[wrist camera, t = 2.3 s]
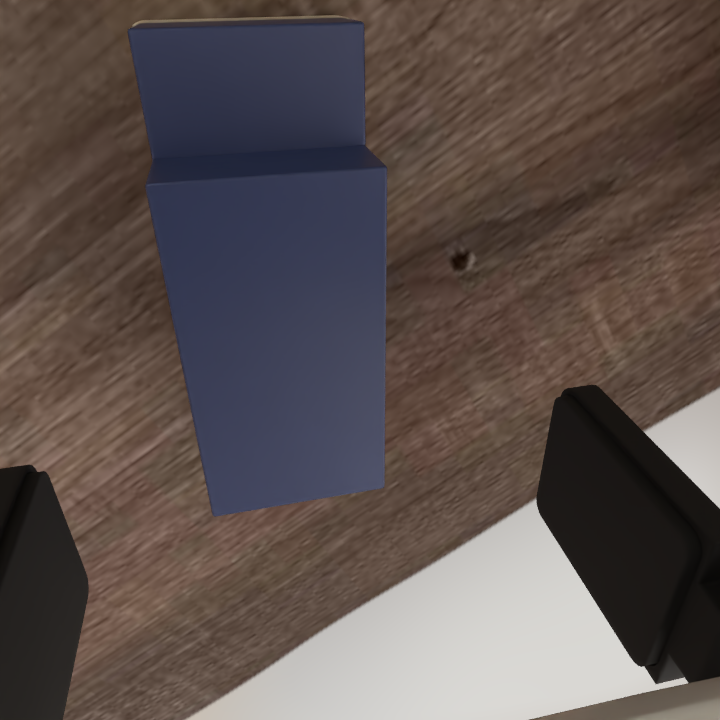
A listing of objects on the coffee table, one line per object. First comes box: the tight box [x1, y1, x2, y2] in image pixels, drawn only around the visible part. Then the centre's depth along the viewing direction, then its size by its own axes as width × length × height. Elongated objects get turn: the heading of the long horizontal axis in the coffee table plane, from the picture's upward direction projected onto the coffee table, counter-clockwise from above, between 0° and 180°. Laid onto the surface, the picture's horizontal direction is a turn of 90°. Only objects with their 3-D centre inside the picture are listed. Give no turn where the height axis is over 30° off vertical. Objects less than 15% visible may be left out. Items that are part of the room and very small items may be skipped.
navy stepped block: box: [128, 15, 387, 516], centre depth 16 cm, size 5×12×6 cm, turn 1°
